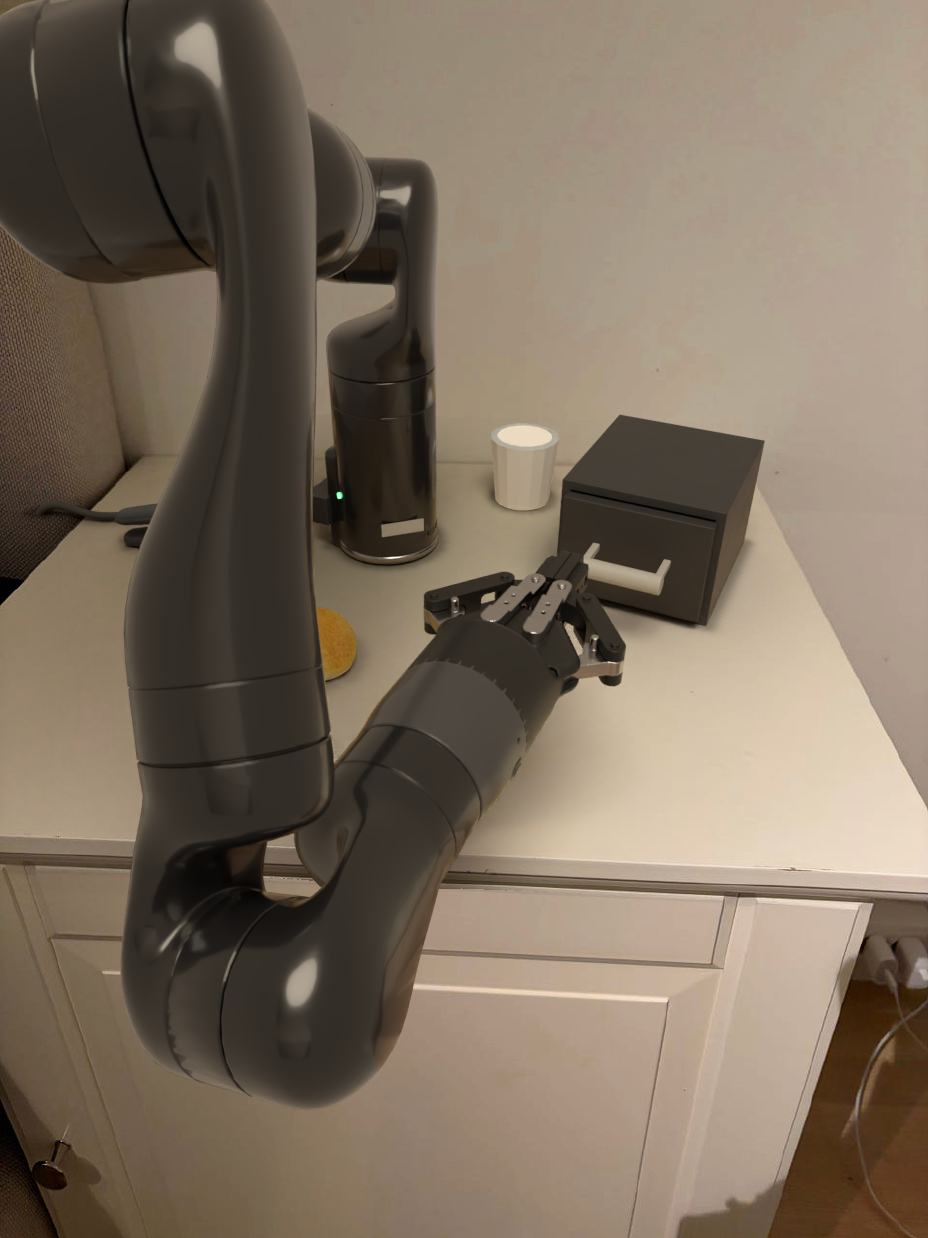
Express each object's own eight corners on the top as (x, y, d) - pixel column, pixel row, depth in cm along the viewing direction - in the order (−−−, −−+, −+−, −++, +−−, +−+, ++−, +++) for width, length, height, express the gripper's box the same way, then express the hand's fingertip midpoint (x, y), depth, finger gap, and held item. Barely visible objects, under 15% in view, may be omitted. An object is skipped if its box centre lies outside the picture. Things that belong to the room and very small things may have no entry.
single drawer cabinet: (706, 626, 78) (727, 513, 72) (554, 587, 83) (562, 479, 77) (743, 542, 90) (764, 440, 84) (608, 513, 94) (619, 414, 88)
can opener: (313, 541, 89) (308, 488, 86) (290, 579, 83) (284, 523, 80) (139, 524, 91) (128, 472, 88) (105, 560, 86) (92, 506, 82)
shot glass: (550, 516, 93) (554, 452, 90) (483, 509, 95) (484, 445, 91) (558, 486, 99) (563, 424, 95) (494, 480, 100) (497, 419, 96)
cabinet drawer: (683, 651, 73) (701, 555, 68) (537, 612, 78) (543, 519, 73) (734, 544, 87) (751, 457, 82) (608, 516, 92) (617, 432, 87)
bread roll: (375, 668, 73) (373, 626, 70) (268, 708, 69) (262, 664, 66) (328, 617, 78) (324, 577, 76) (226, 651, 74) (220, 610, 72)
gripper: (586, 706, 43) (681, 536, 55) (338, 632, 47) (480, 491, 60) (573, 820, 47) (664, 638, 60) (347, 742, 51) (477, 588, 64)
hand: (571, 564), depth 60 cm, fingers closed
